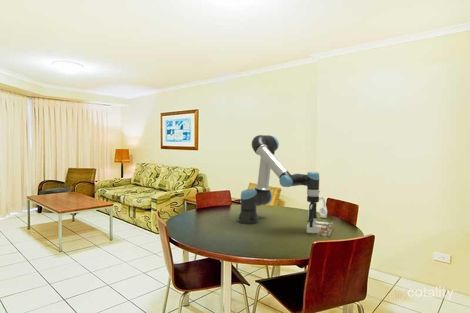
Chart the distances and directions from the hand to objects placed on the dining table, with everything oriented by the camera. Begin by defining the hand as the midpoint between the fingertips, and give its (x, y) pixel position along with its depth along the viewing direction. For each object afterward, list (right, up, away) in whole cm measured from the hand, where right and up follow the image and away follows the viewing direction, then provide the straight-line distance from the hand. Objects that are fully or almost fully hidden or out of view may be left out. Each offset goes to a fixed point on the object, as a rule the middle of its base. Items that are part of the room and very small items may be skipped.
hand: (312, 229), depth 190 cm
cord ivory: (+2, -1, -1) cm, 3 cm away
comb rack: (+9, -1, +1) cm, 9 cm away
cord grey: (+7, -1, +7) cm, 10 cm away
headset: (+12, -1, +32) cm, 34 cm away
